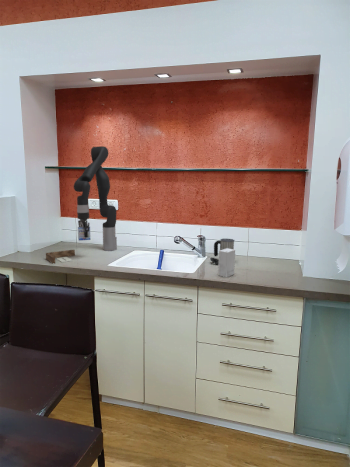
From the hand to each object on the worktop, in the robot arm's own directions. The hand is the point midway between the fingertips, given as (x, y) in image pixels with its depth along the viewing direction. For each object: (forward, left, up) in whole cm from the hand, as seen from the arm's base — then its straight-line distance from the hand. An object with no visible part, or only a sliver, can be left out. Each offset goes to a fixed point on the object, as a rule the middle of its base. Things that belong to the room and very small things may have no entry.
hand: (84, 236), depth 231 cm
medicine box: (0, 0, -2) cm, 2 cm away
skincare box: (-51, +83, -15) cm, 98 cm away
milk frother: (-68, +61, -15) cm, 93 cm away
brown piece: (+13, -4, -15) cm, 20 cm away
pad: (+13, -3, -15) cm, 20 cm away
